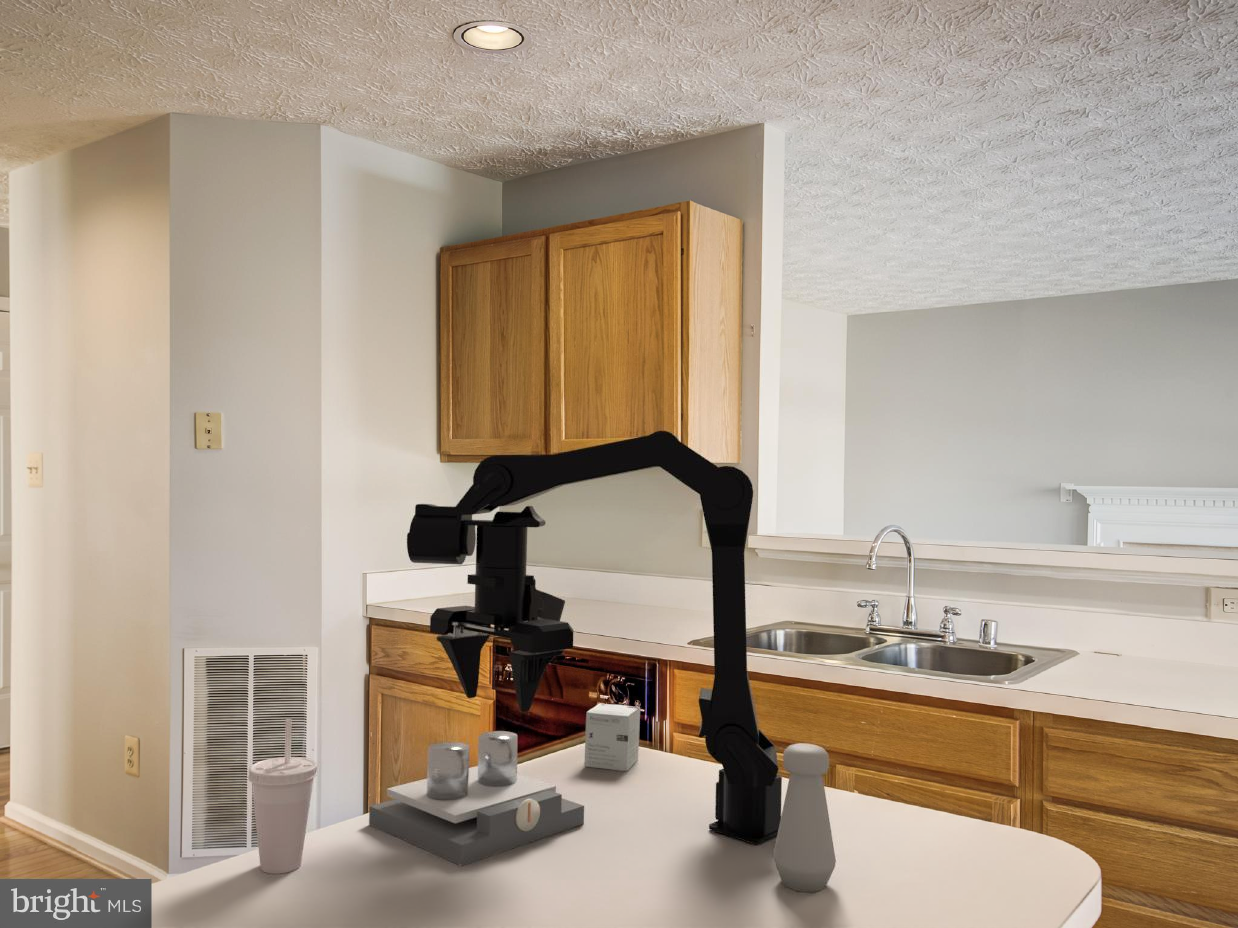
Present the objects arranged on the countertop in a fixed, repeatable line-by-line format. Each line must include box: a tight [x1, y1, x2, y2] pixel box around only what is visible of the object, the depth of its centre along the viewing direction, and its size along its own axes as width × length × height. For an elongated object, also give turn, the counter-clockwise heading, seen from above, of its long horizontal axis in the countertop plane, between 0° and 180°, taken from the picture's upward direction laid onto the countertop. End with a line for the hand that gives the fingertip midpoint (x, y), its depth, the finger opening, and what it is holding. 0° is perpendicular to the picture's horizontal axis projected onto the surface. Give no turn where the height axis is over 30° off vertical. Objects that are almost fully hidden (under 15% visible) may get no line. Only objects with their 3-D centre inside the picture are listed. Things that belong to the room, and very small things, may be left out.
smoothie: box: [247, 718, 318, 875], centre depth 96 cm, size 6×6×14 cm
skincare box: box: [583, 702, 641, 772], centre depth 133 cm, size 6×6×7 cm
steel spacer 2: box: [477, 730, 518, 787], centre depth 112 cm, size 4×4×5 cm
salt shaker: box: [773, 742, 837, 893], centre depth 95 cm, size 6×6×13 cm
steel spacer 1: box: [426, 741, 471, 800], centre depth 107 cm, size 4×4×5 cm
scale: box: [368, 765, 585, 867], centre depth 109 cm, size 16×17×5 cm
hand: (497, 704), depth 112 cm, fingers open, 9 cm apart
